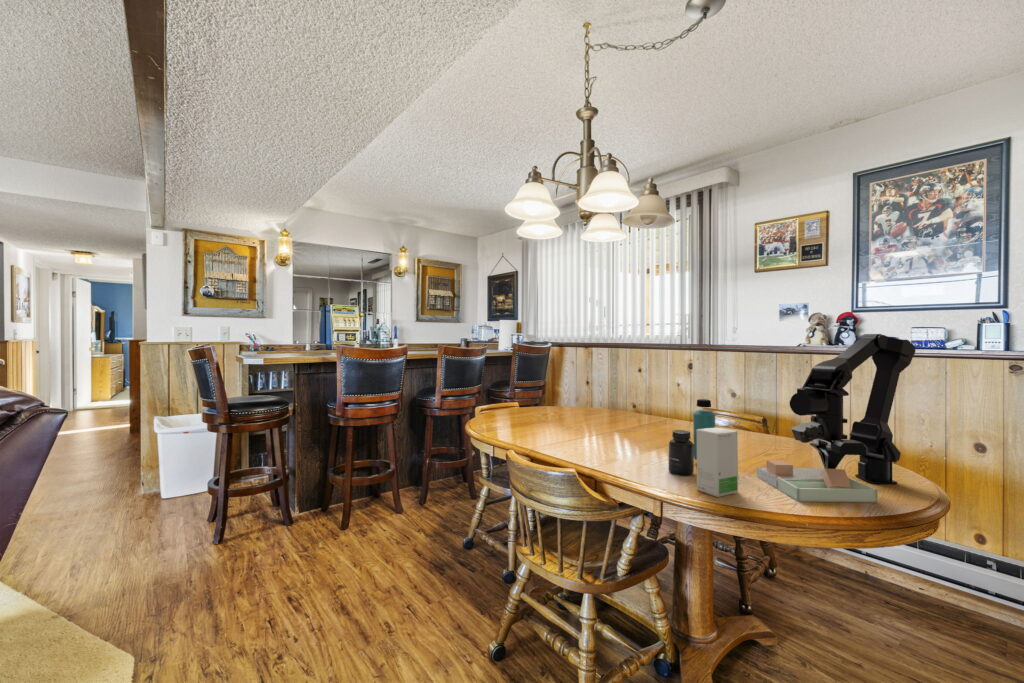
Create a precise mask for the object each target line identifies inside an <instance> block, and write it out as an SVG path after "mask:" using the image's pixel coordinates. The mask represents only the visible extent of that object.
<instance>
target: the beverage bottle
mask: <svg viewBox="0 0 1024 683" xmlns="http://www.w3.org/2000/svg"><path fill="white" fill-rule="evenodd" d="M696 407H697V408H699V407H700V408H711V407H712V402H711V400H710V399H706V398H702V399H701V398H700V399H697V400H696ZM692 416H693V419H692V420H693V431H692V432H693V433H692V434H693V435H692V440H693V441H692V443H693V444H694V461H697V432H696V430H697V429H705V428H716V414H715V412H713V411H712V410H709V409H696V410H695V411H694V412H693V413H692Z"/></svg>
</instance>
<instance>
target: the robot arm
mask: <svg viewBox="0 0 1024 683" xmlns="http://www.w3.org/2000/svg"><path fill="white" fill-rule="evenodd" d="M915 354H916V346H915V345H914V343H911V341H910V340H908V339H901V338H896V337H895V338H894V337H891V336H887V335H885V334H882V333H864V334H862V335H860V336H859V338H858V340H856V341H855V342H854V343H853V344H851V345H850V346H849V347H848V348H846V349H845V350H843V351H842V352H841V353H840V354H838V355H837V356H836V357H834V358H831V359H829V360H825V361H822V362H819V363H817V364H815V365H814V366H813V367H812V368H811V370H810V372H809V375H808V376H807V378H806V380H805V382H804V384H803V385H802V387H799V388H797V389H796V392H795V393H794V394H793V395H792V396H791V398H790V400H789V407H790V410H791V411H792V412H793V413H794V414H795V415H796V416H811V417H810V421H808V422H804V423H801V424H798V425H795V426H792V427H791V431H792V434H793V438H794V440H795V441H799V442H801V443H803V444H807V443H809V445H810V446H811V447H812V448H813V449H815V450H816V451H817V452H818V454H819V457H820V460H821V462H822V465H823V468H826V469H837V467H839V465H840V463H841V461H842V460H843V459H844V457H846V456H859V461H858V462H857V474H854V475H855V477H857V478H859V479H861V480H864V481H866V482H868V483H871V484H876V485H877V484H881V485H882V484H883V485H892V484H894V485H895V484H897V485H898V481H896V480H894V479H893V463H898V462H899V461H900V458H901V451H900V449H898V448H897V446H896V445H895V444H894V442H893V437H894V434H893V433H892V432H893V431H891V428H890V426H889V424H888V423H889V420H890V419H889V418H890V415H891V412H892V407H893V402H894V399H895V394H896V391H897V387H898V383H899V378H900V375H901V373H902V372H903V371H904V370H905V369H906V368H908V367H909V366H910V365H911V363H912V361H913V359H914V356H915ZM870 358H871V360H872V361H873V364H874V366H875V369H876V370H875V373H874V377H873V382H872V387H871V390H870V394H869V397H868V402H867V406H866V409H865V413H864V417H863V418H862V419H861V420H860V421H857V420H856V421H854V422H853V423H852V427H851V430H850V433H849V439H848V435H847V434H844V424H848V418H845V417H844V397H848V396H849V395H850V393H849V392H848V391H847V390H845V389H844V388H845V387H846V386H847V385H848V384H849V383H850V381H851V380H852V379H853V372H854V370H856V369H857V368H859V367H860V366H861V365H863V363H865V361H867V360H868V359H870ZM810 442H811V443H810Z"/></svg>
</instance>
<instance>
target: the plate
mask: <svg viewBox="0 0 1024 683" xmlns="http://www.w3.org/2000/svg"><path fill="white" fill-rule="evenodd" d="M824 469H825V468H824V467H793V474H774V473H772V472H771V471H769V470H767V466H765V467H763V466H762V467H760V466H759V467H756V477H757V478H759V479H761V480H762V481H764V482H765V483H767V484H769V485H771V486H772V487H773V488H775V489H777V477H780V478H782V479H783V480H785V481H815V482H824V480H823V477H822V475H821V472H822V471H823V470H824Z"/></svg>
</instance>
